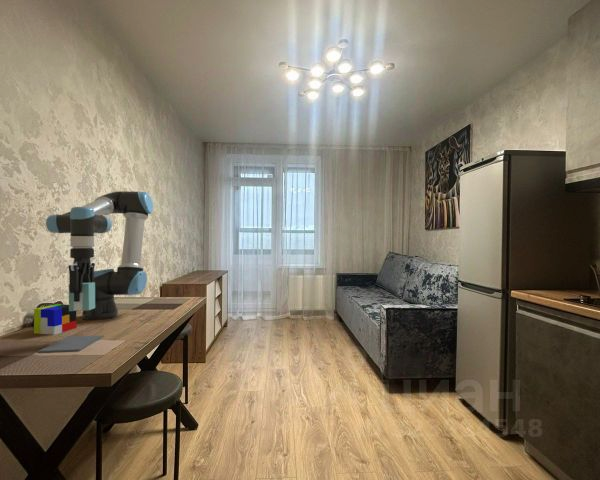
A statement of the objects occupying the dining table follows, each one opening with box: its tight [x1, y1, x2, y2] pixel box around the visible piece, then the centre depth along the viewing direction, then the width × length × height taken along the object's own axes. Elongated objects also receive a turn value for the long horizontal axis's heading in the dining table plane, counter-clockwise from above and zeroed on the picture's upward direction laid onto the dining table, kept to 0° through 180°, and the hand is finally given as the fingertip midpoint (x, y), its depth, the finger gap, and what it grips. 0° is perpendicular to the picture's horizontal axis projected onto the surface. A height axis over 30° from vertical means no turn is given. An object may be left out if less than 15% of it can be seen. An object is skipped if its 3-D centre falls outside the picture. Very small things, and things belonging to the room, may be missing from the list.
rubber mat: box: [37, 334, 104, 354], centre depth 115 cm, size 16×13×1 cm
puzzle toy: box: [33, 303, 77, 336], centre depth 133 cm, size 10×10×10 cm
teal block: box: [68, 282, 95, 312], centre depth 121 cm, size 4×7×10 cm, turn 97°
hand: (82, 308), depth 121 cm, fingers closed on teal block, 4 cm apart
